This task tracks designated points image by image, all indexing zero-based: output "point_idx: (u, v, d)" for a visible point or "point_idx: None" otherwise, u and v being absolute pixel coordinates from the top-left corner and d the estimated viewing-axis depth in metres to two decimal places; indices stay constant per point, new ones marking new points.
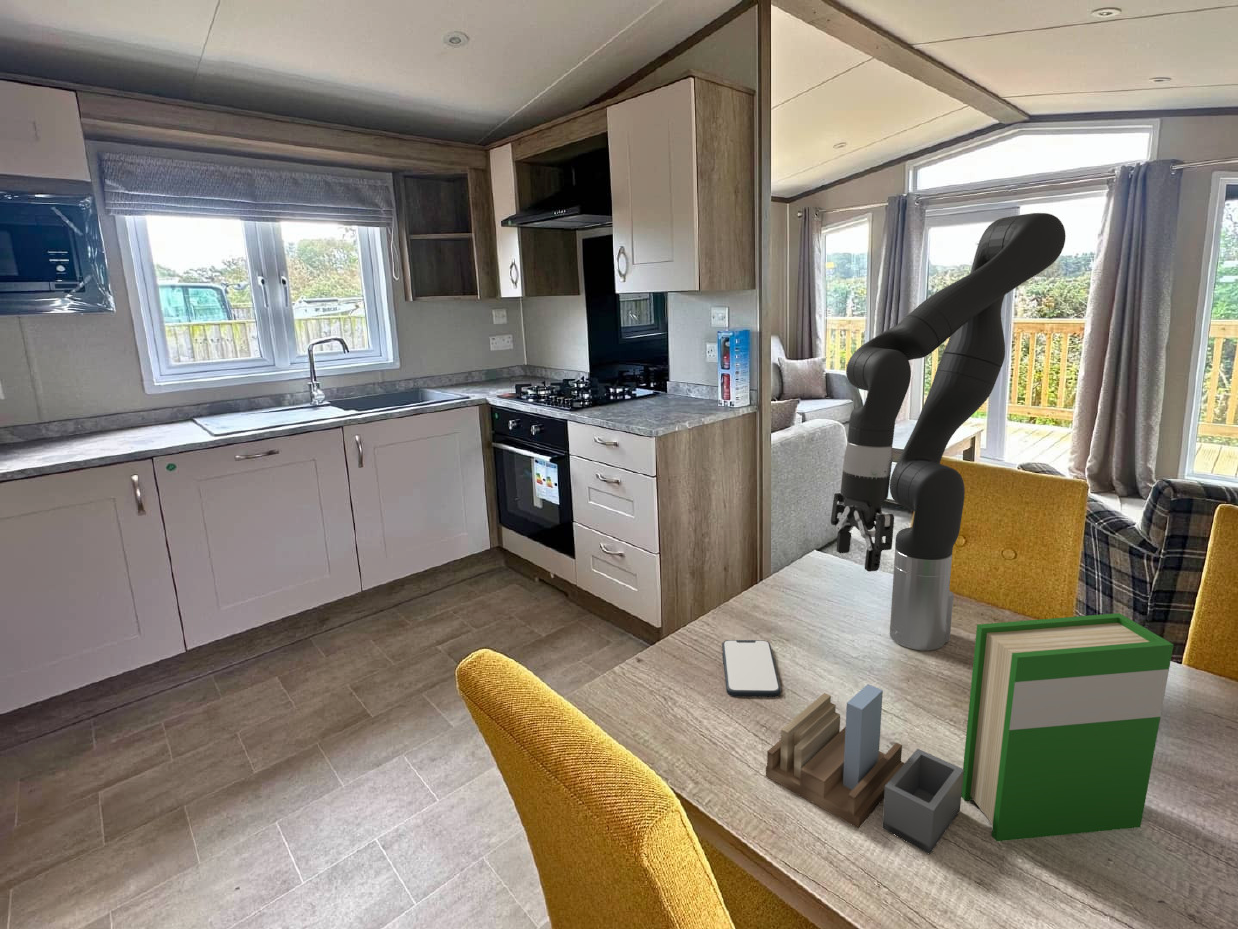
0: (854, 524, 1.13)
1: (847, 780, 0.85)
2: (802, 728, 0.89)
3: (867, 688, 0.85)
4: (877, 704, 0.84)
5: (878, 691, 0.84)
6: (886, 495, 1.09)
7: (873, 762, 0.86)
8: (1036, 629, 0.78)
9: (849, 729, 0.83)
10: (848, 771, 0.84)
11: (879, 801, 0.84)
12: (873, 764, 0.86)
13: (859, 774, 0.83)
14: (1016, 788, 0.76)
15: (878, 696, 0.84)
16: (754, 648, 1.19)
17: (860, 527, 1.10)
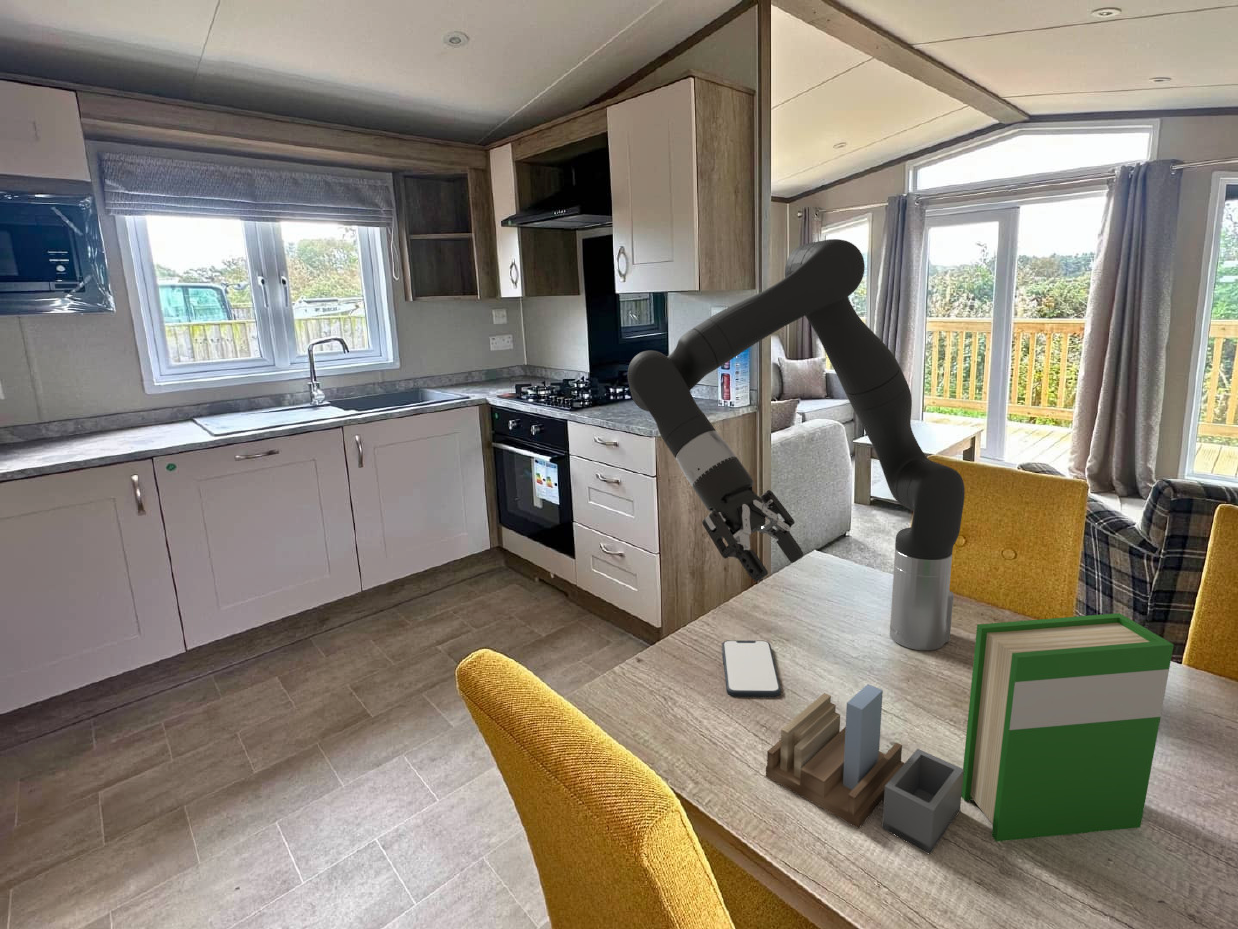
0: None
1: (847, 780, 0.85)
2: (802, 728, 0.89)
3: (867, 688, 0.85)
4: (877, 704, 0.84)
5: (878, 691, 0.84)
6: (723, 488, 0.89)
7: (873, 762, 0.86)
8: (1037, 629, 0.78)
9: (849, 729, 0.83)
10: (848, 771, 0.84)
11: (879, 801, 0.84)
12: (873, 764, 0.86)
13: (859, 774, 0.83)
14: (1016, 788, 0.76)
15: (878, 696, 0.84)
16: (754, 648, 1.19)
17: None
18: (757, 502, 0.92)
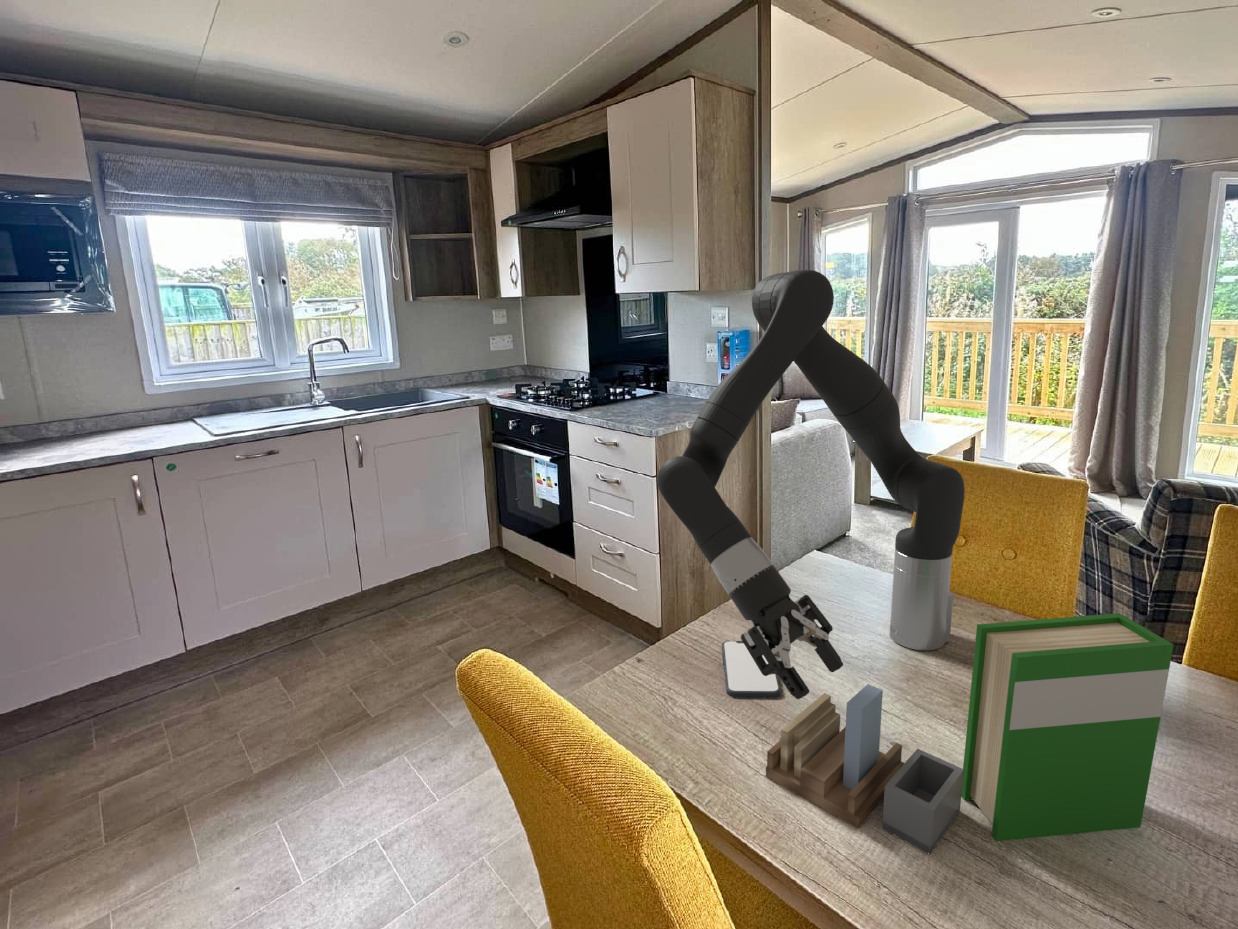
0: None
1: (847, 780, 0.85)
2: (802, 728, 0.89)
3: (867, 688, 0.85)
4: (877, 704, 0.84)
5: (878, 691, 0.84)
6: (761, 601, 0.88)
7: (873, 762, 0.86)
8: (1037, 629, 0.78)
9: (849, 729, 0.83)
10: (848, 771, 0.84)
11: (879, 801, 0.84)
12: (873, 764, 0.86)
13: (859, 774, 0.83)
14: (1016, 788, 0.76)
15: (878, 696, 0.84)
16: None
17: None
18: (795, 612, 0.90)
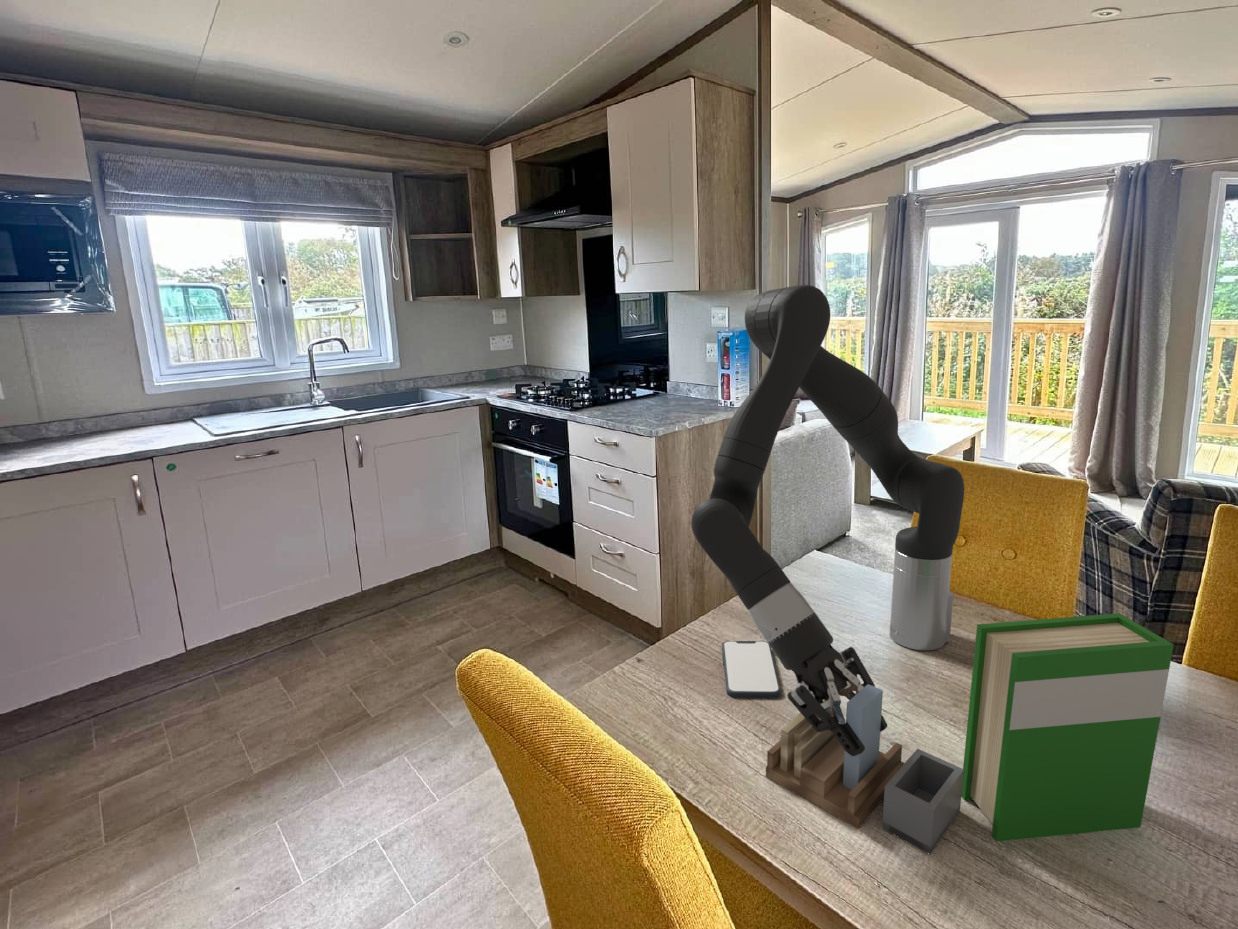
0: None
1: (847, 780, 0.85)
2: (802, 728, 0.89)
3: (867, 688, 0.85)
4: (877, 704, 0.84)
5: (878, 691, 0.84)
6: (803, 652, 0.85)
7: (873, 762, 0.86)
8: (1037, 629, 0.78)
9: None
10: (848, 771, 0.84)
11: (879, 801, 0.84)
12: (873, 764, 0.86)
13: (859, 774, 0.83)
14: (1016, 788, 0.76)
15: (878, 696, 0.84)
16: (754, 648, 1.19)
17: None
18: (838, 662, 0.87)
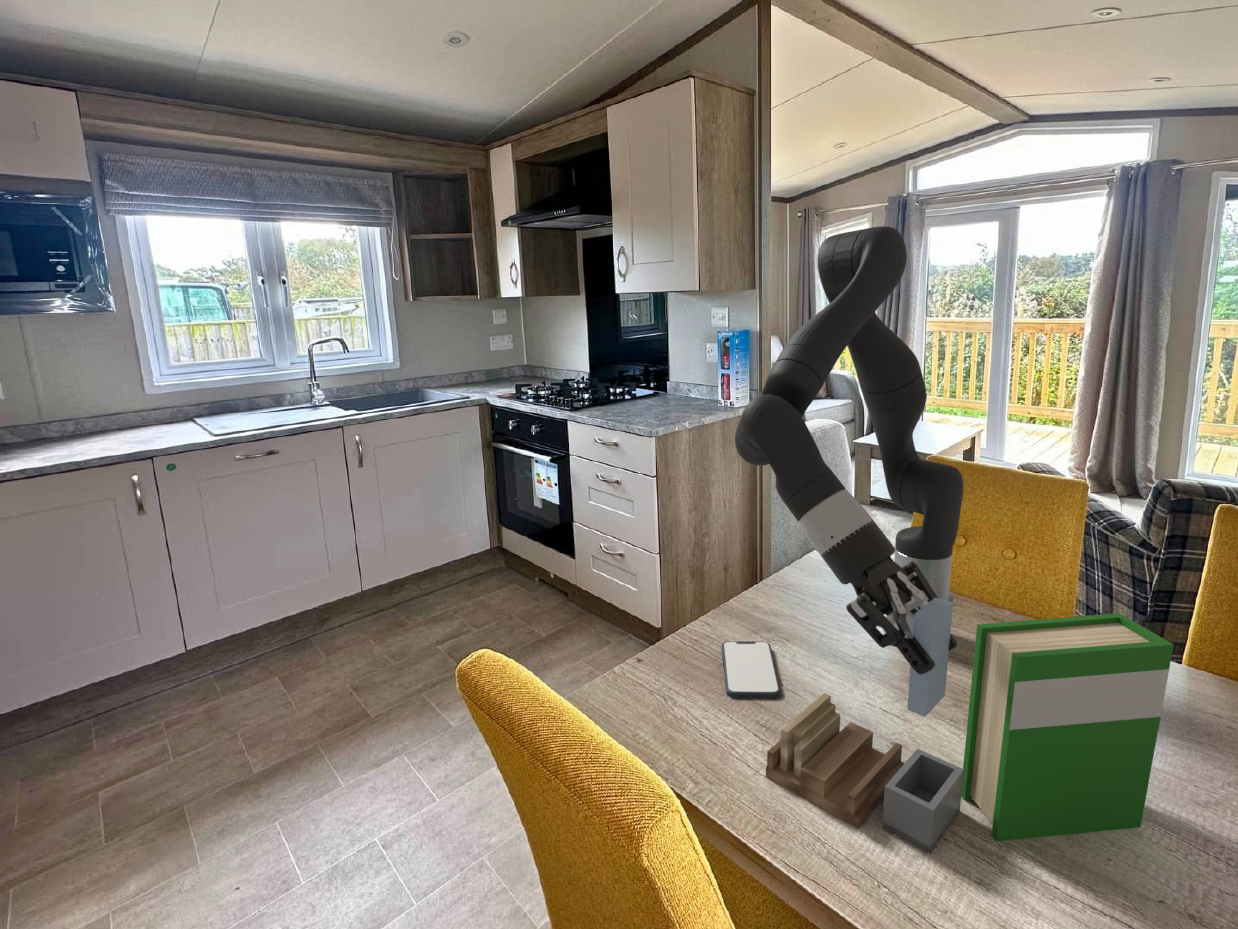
0: None
1: (912, 703, 0.76)
2: (802, 728, 0.89)
3: (935, 601, 0.76)
4: (947, 618, 0.75)
5: (948, 604, 0.75)
6: (864, 561, 0.76)
7: (941, 685, 0.77)
8: (1036, 628, 0.78)
9: None
10: (914, 693, 0.75)
11: (879, 801, 0.84)
12: (941, 687, 0.77)
13: (927, 695, 0.75)
14: (1016, 788, 0.76)
15: (948, 609, 0.75)
16: (754, 649, 1.19)
17: None
18: (901, 574, 0.78)
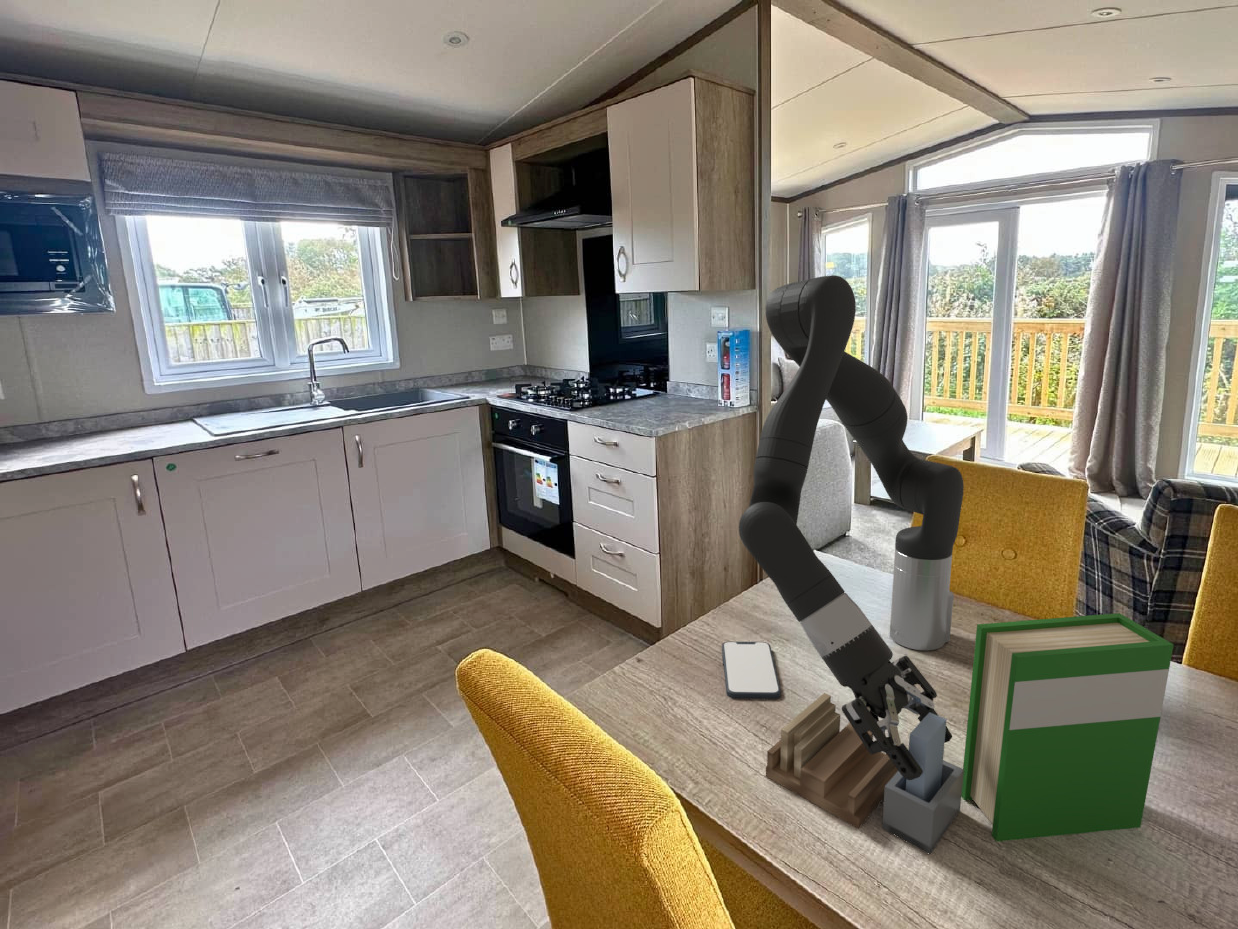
0: None
1: None
2: (802, 728, 0.89)
3: (929, 717, 0.80)
4: (941, 734, 0.79)
5: (942, 721, 0.79)
6: (863, 668, 0.79)
7: None
8: (1036, 628, 0.78)
9: None
10: None
11: (879, 801, 0.84)
12: None
13: None
14: (1016, 788, 0.76)
15: (942, 726, 0.79)
16: (754, 649, 1.19)
17: (872, 718, 0.80)
18: (898, 678, 0.81)
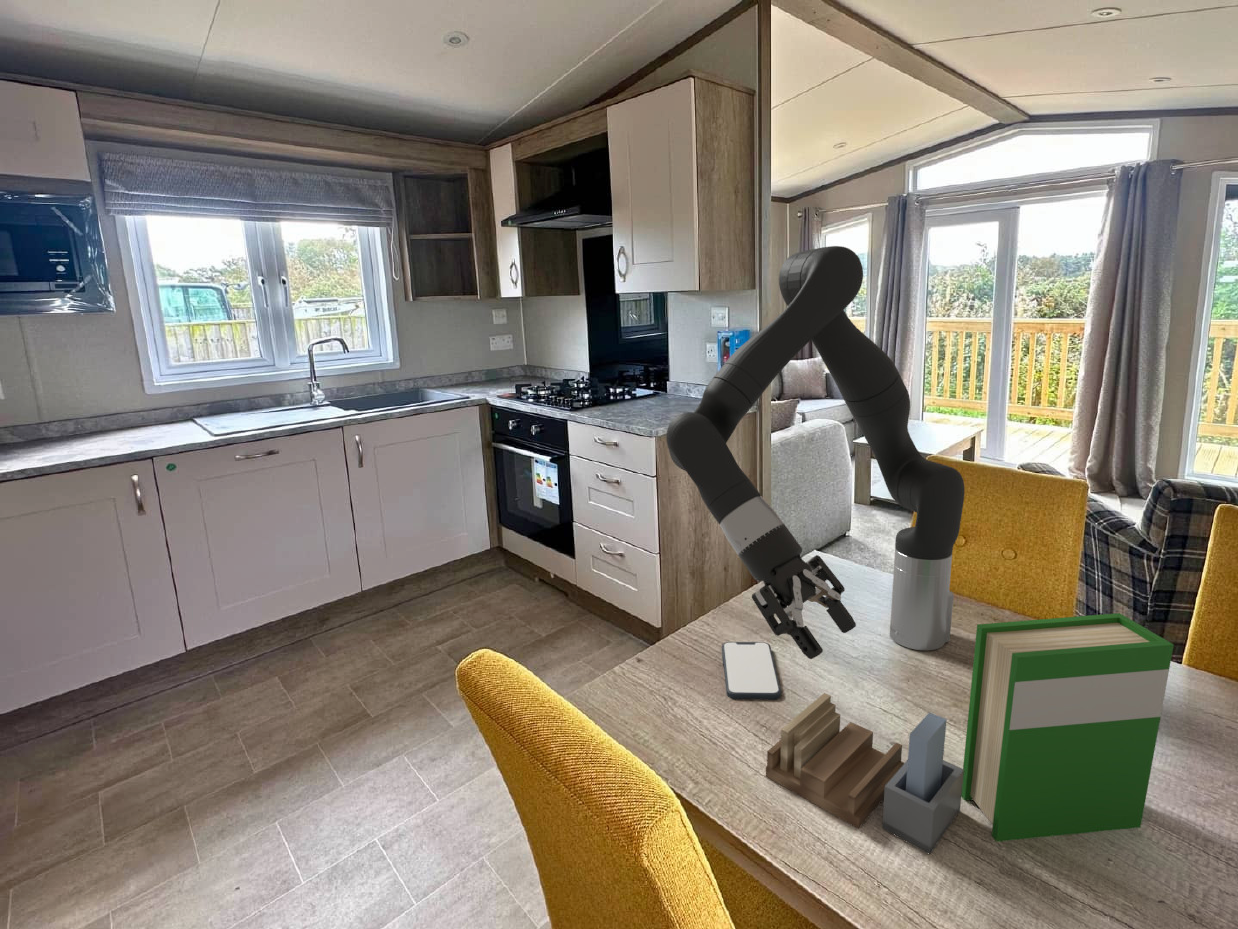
0: None
1: None
2: (802, 728, 0.89)
3: (929, 717, 0.80)
4: (941, 734, 0.79)
5: (942, 721, 0.79)
6: (772, 560, 0.86)
7: None
8: (1037, 629, 0.78)
9: (912, 761, 0.78)
10: None
11: (879, 801, 0.84)
12: None
13: None
14: (1016, 788, 0.76)
15: (942, 726, 0.79)
16: (754, 649, 1.19)
17: (782, 607, 0.87)
18: (807, 572, 0.88)
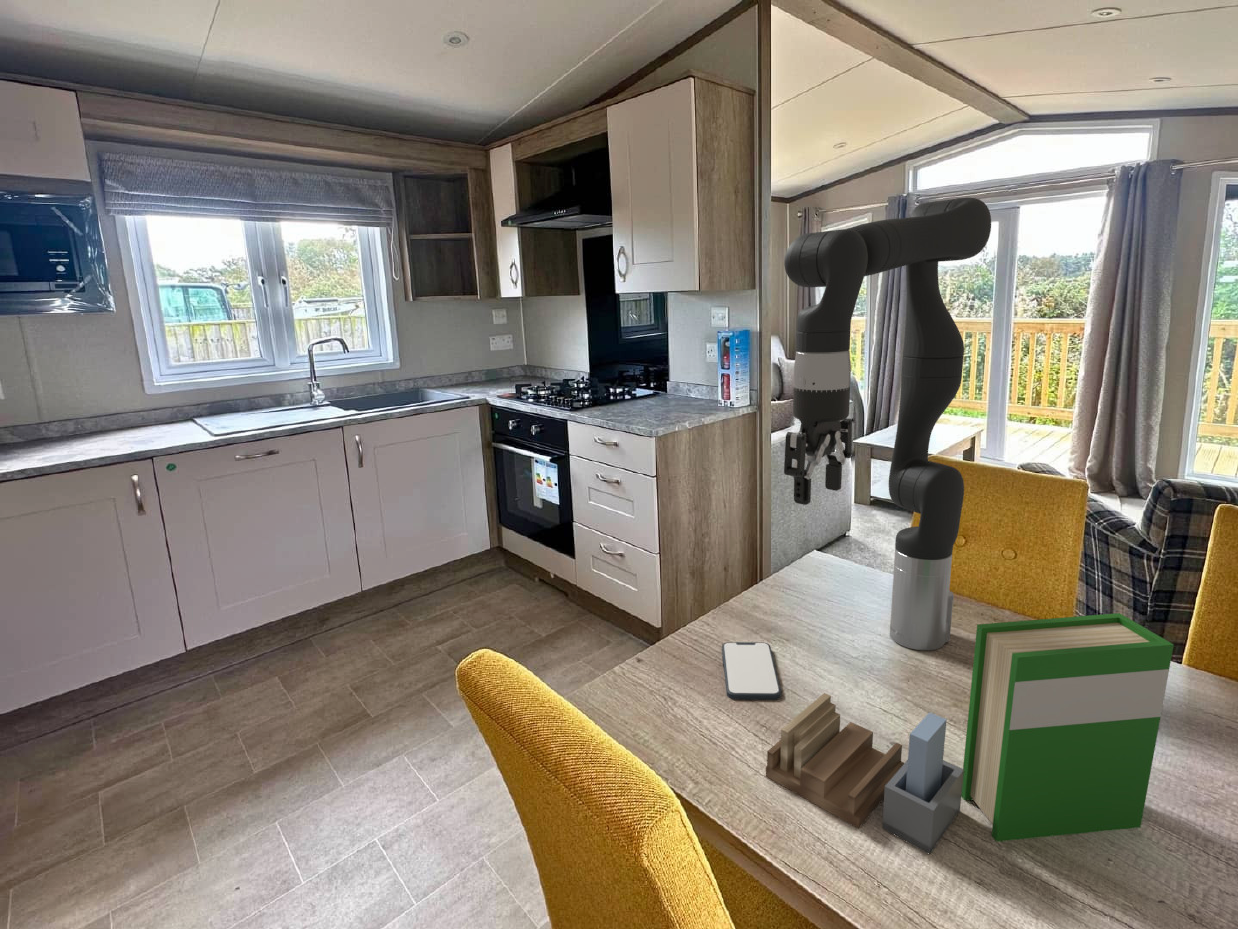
0: None
1: None
2: (802, 728, 0.89)
3: (929, 717, 0.80)
4: (941, 734, 0.79)
5: (942, 721, 0.79)
6: (822, 415, 0.89)
7: None
8: (1037, 629, 0.78)
9: (912, 761, 0.78)
10: None
11: (879, 801, 0.84)
12: None
13: None
14: (1016, 788, 0.76)
15: (942, 726, 0.79)
16: (754, 650, 1.19)
17: None
18: (838, 434, 0.93)
